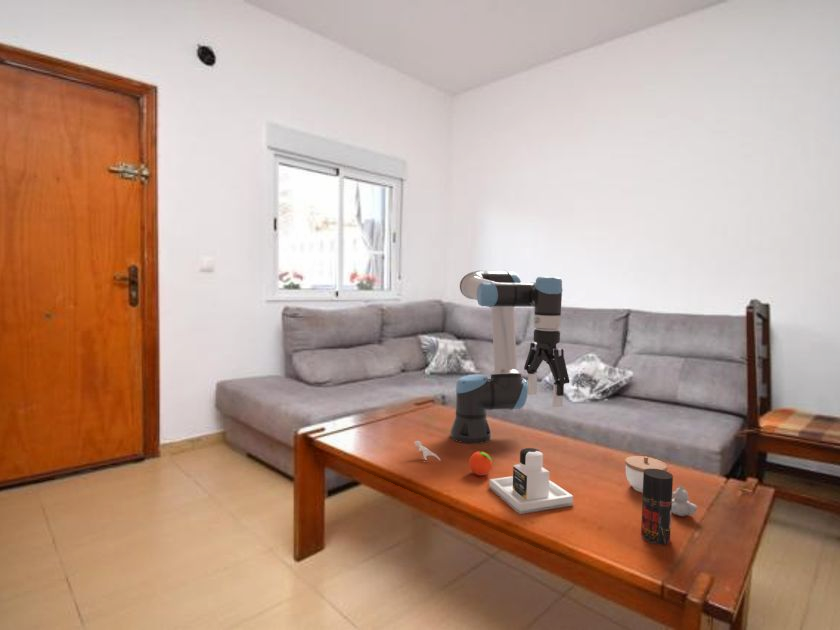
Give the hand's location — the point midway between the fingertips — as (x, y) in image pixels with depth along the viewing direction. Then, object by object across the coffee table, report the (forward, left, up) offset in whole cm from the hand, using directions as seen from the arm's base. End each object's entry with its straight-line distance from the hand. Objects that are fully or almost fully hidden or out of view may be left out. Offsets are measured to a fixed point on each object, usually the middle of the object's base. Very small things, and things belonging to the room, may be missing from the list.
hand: (544, 400), depth 138 cm
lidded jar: (+16, +23, -24) cm, 37 cm away
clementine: (-7, -17, -24) cm, 30 cm away
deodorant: (+37, +5, -24) cm, 44 cm away
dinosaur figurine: (-24, -29, -24) cm, 45 cm away
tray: (+10, -11, -23) cm, 28 cm away
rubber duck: (+31, +20, -24) cm, 44 cm away
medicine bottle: (+10, -11, -23) cm, 27 cm away
